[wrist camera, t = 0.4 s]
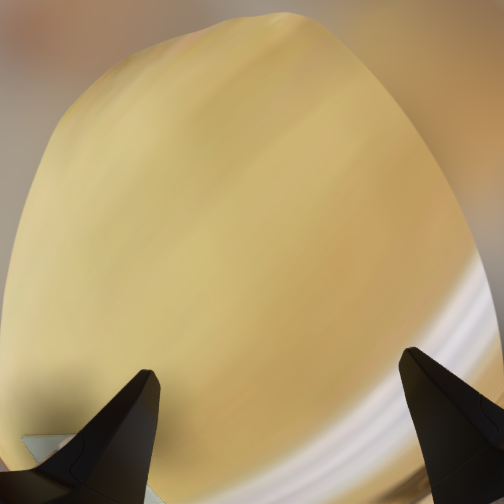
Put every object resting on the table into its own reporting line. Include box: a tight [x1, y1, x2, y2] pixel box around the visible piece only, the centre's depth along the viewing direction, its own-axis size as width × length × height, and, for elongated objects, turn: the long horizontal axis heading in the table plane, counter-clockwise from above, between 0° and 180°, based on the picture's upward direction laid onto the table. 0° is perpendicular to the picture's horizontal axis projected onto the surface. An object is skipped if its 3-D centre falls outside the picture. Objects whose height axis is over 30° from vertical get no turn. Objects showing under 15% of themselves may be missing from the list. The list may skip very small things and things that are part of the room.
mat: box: [21, 434, 165, 504], centre depth 21 cm, size 16×21×1 cm
